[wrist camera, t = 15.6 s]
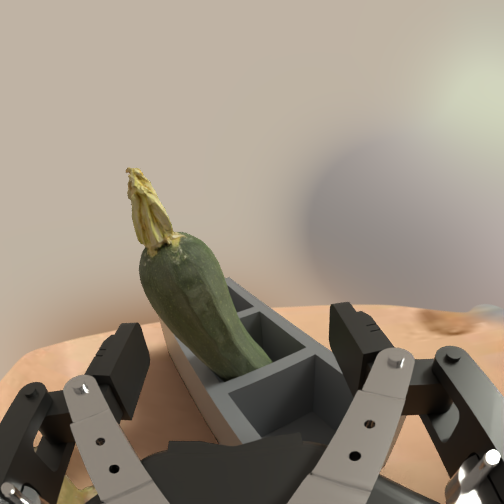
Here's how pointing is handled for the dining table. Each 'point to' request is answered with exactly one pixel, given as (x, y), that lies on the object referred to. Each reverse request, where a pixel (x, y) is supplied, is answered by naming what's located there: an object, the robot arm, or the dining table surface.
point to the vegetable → (189, 288)
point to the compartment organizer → (269, 382)
